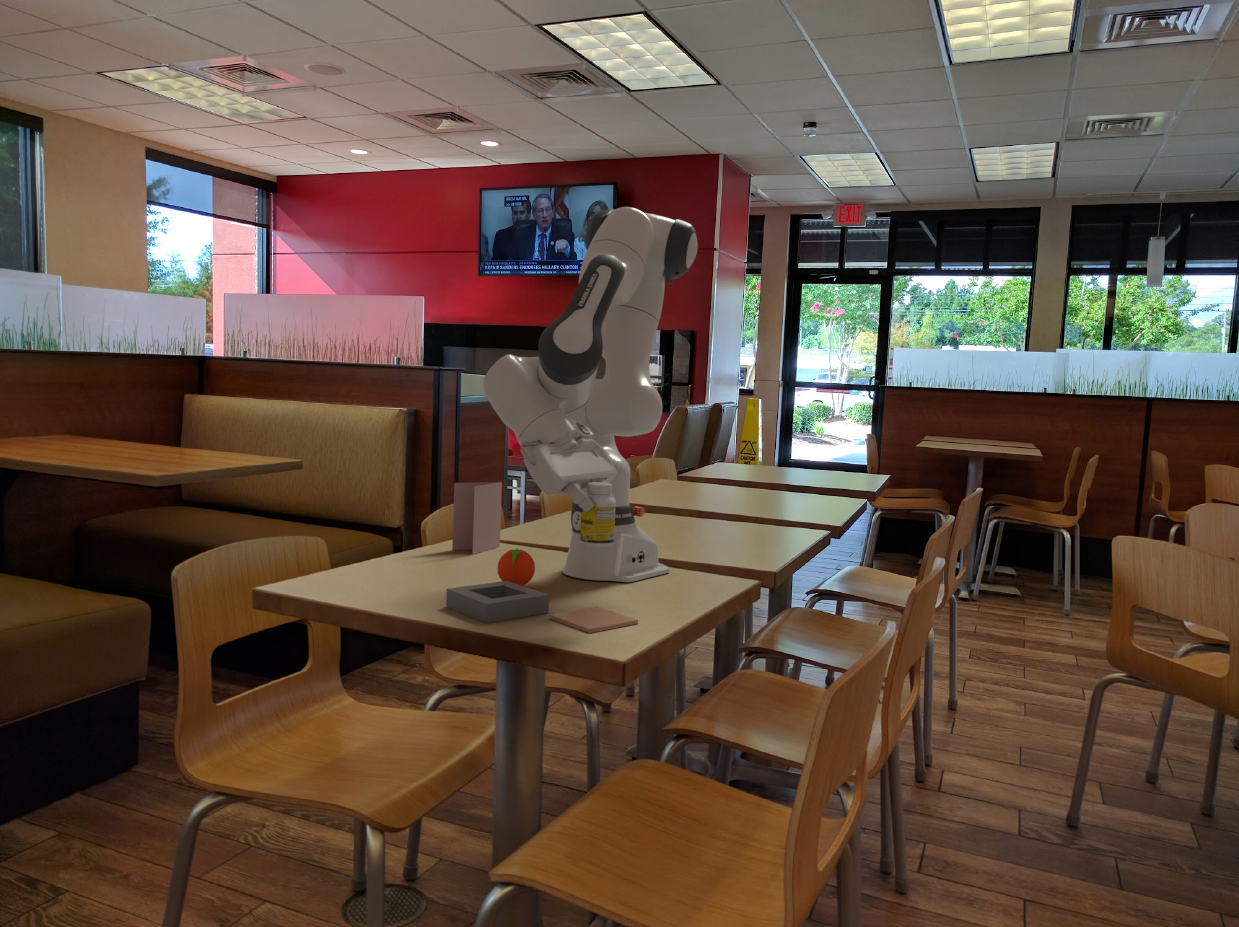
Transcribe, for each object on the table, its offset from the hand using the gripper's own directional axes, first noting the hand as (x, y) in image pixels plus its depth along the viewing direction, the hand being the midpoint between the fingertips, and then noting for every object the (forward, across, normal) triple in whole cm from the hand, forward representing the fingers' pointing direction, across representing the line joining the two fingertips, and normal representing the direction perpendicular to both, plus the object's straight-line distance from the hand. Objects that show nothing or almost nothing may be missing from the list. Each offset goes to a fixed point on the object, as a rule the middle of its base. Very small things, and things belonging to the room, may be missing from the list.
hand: (601, 506), depth 137 cm
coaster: (+13, 0, +13) cm, 18 cm away
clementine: (-4, +12, +30) cm, 33 cm away
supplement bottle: (+4, 0, +5) cm, 6 cm away
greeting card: (-22, +38, +48) cm, 65 cm away
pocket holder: (+1, -3, +25) cm, 25 cm away
